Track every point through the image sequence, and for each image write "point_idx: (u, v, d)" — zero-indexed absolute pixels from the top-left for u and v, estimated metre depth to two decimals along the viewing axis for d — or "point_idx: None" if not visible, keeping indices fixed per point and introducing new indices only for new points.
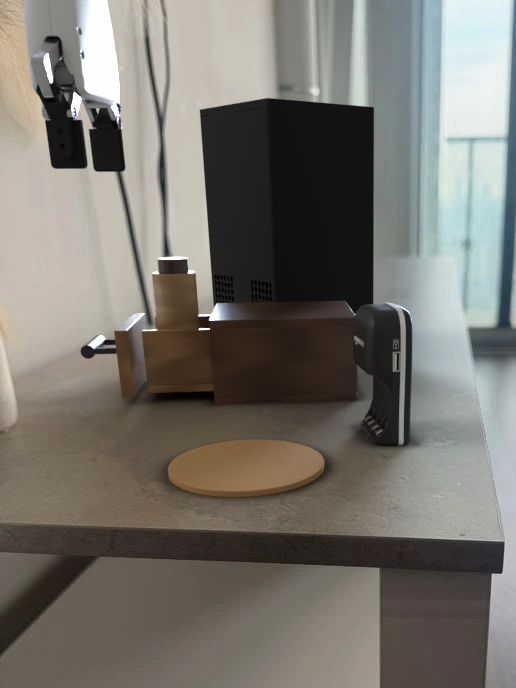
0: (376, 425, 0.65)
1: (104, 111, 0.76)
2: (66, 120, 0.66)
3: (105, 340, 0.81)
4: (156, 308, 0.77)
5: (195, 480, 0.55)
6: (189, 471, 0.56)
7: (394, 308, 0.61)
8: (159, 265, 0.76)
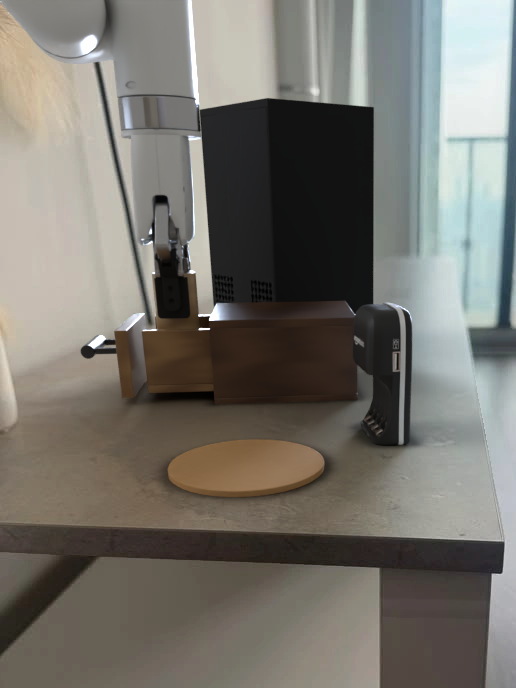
0: (376, 425, 0.65)
1: None
2: (176, 279, 0.74)
3: (105, 340, 0.81)
4: (156, 308, 0.77)
5: (195, 480, 0.55)
6: (189, 471, 0.56)
7: (394, 308, 0.61)
8: None
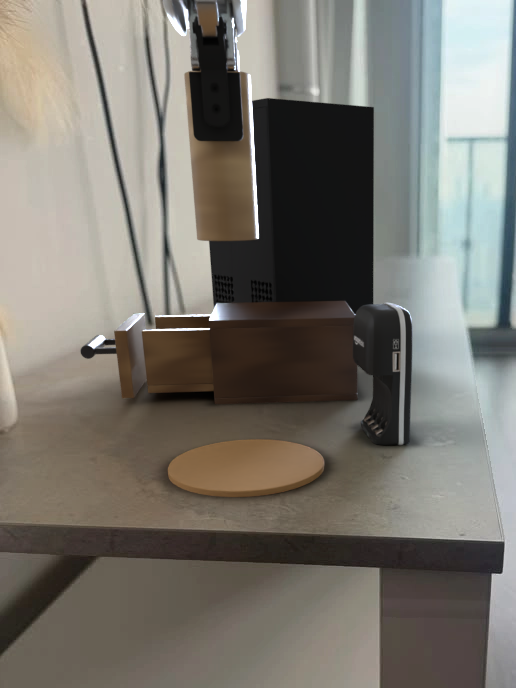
0: (376, 425, 0.65)
1: None
2: (224, 72, 0.47)
3: (105, 340, 0.81)
4: (191, 130, 0.51)
5: (195, 480, 0.55)
6: (189, 471, 0.56)
7: (394, 308, 0.61)
8: None
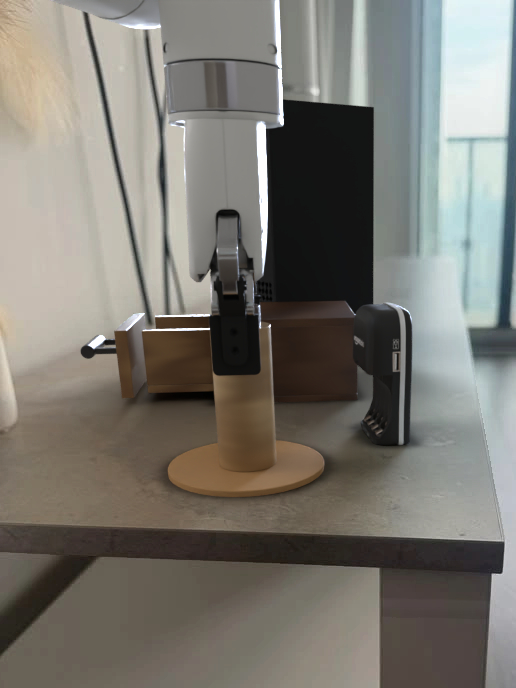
0: (376, 425, 0.65)
1: None
2: (243, 318, 0.49)
3: (105, 340, 0.81)
4: (215, 376, 0.55)
5: (195, 480, 0.55)
6: (189, 471, 0.56)
7: (394, 308, 0.61)
8: None
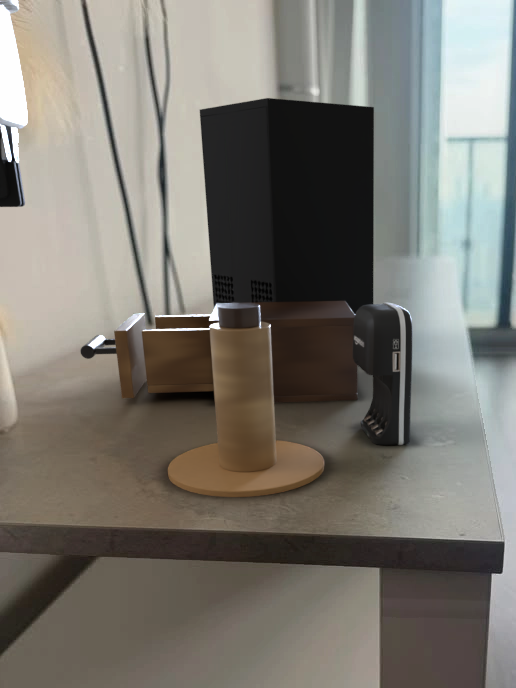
0: (376, 425, 0.65)
1: None
2: (1, 163, 0.70)
3: (105, 340, 0.81)
4: (215, 376, 0.55)
5: (195, 480, 0.55)
6: (189, 471, 0.56)
7: (394, 308, 0.61)
8: (221, 316, 0.53)
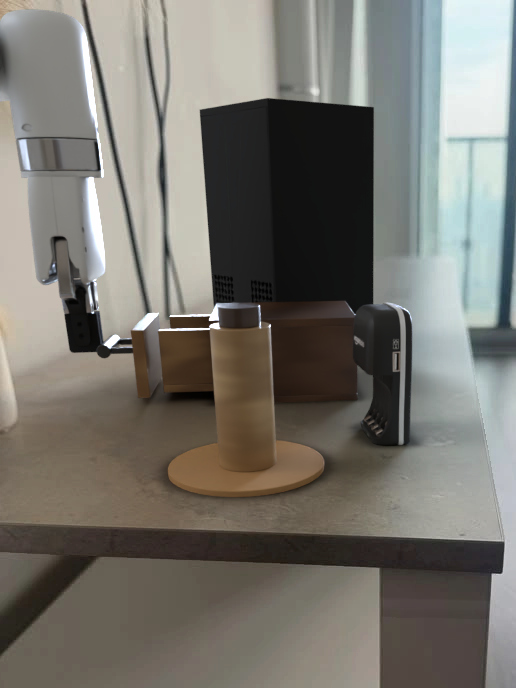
0: (376, 425, 0.65)
1: None
2: (85, 315, 0.76)
3: (120, 340, 0.81)
4: (215, 376, 0.55)
5: (195, 480, 0.55)
6: (189, 471, 0.56)
7: (394, 308, 0.61)
8: (221, 316, 0.53)
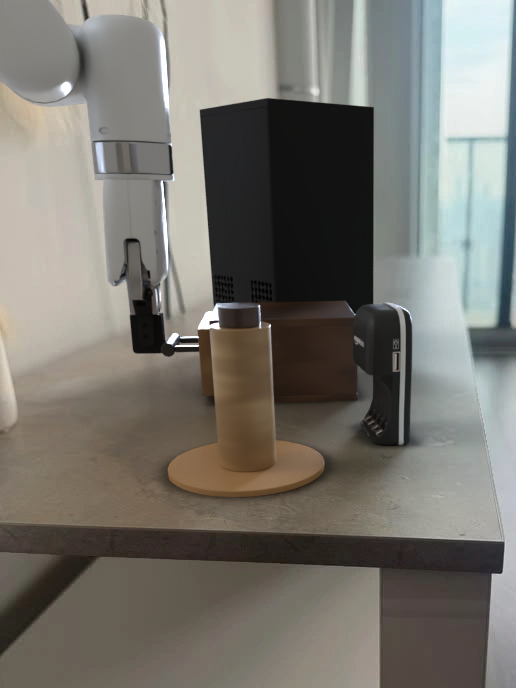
0: (376, 425, 0.65)
1: None
2: (150, 317, 0.77)
3: (180, 338, 0.82)
4: (215, 376, 0.55)
5: (195, 480, 0.55)
6: (189, 471, 0.56)
7: (394, 308, 0.61)
8: (221, 316, 0.53)
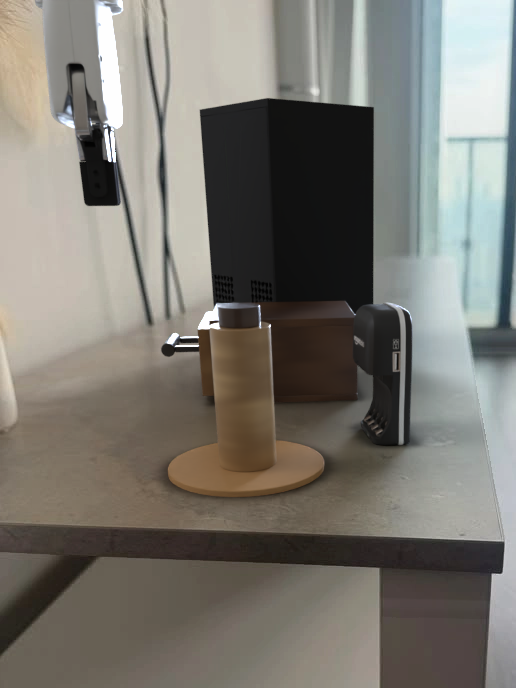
0: (376, 425, 0.65)
1: None
2: (101, 162, 0.71)
3: (180, 338, 0.82)
4: (215, 376, 0.55)
5: (195, 480, 0.55)
6: (189, 471, 0.56)
7: (394, 308, 0.61)
8: (221, 316, 0.53)
